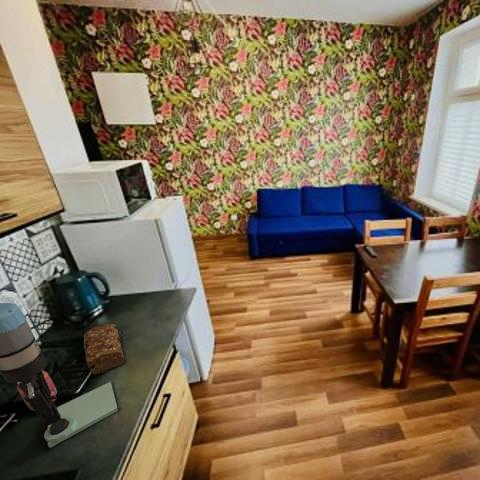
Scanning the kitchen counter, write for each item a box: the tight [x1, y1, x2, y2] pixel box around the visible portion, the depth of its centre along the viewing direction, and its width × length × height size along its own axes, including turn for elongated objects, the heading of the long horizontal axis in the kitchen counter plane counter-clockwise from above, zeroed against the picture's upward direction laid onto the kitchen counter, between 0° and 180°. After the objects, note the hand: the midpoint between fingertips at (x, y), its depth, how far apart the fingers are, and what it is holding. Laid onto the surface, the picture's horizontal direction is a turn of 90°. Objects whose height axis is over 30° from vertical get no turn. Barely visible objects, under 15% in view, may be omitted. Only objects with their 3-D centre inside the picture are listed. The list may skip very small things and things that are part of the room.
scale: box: [43, 381, 119, 449], centre depth 84 cm, size 16×14×3 cm
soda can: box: [16, 369, 58, 412], centre depth 85 cm, size 7×7×12 cm
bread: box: [83, 323, 126, 376], centre depth 104 cm, size 19×11×10 cm, turn 40°
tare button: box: [50, 418, 68, 435], centre depth 77 cm, size 4×4×2 cm
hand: (54, 420), depth 76 cm, fingers closed
